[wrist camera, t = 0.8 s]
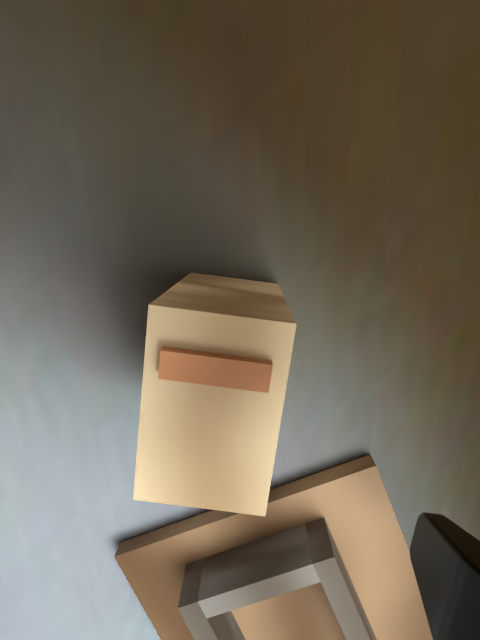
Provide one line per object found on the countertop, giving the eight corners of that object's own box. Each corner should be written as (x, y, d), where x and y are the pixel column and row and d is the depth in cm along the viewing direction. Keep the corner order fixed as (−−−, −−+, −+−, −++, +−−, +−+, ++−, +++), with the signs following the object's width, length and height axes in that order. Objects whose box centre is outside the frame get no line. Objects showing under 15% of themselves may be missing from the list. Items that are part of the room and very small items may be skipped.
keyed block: (178, 394, 20) (129, 508, 12) (191, 272, 19) (144, 307, 11) (259, 404, 20) (265, 526, 12) (277, 283, 19) (298, 327, 11)
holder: (216, 715, 25) (211, 794, 21) (120, 542, 22) (96, 599, 19) (445, 648, 23) (479, 722, 20) (370, 454, 20) (394, 499, 17)
